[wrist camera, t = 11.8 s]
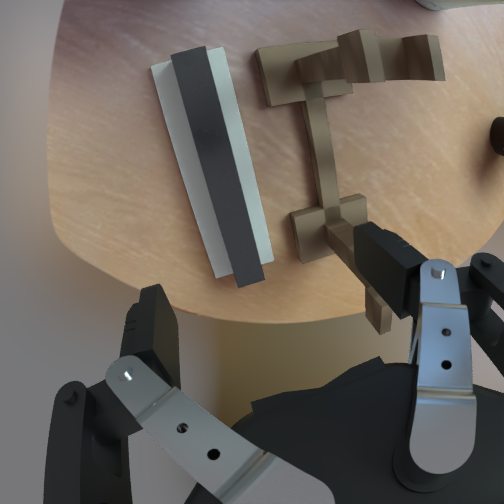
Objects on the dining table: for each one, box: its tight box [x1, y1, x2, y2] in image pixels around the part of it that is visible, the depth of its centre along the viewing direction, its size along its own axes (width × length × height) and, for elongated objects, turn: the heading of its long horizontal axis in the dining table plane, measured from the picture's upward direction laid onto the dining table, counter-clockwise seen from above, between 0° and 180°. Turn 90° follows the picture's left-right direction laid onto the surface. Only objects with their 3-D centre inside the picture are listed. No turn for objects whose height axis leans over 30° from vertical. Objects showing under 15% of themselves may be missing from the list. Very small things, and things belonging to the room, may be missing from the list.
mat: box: [151, 47, 274, 278], centre depth 30 cm, size 24×7×1 cm, turn 13°
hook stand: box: [255, 30, 446, 335], centre depth 24 cm, size 24×9×16 cm, turn 13°
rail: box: [171, 46, 265, 288], centre depth 28 cm, size 24×3×3 cm, turn 13°
